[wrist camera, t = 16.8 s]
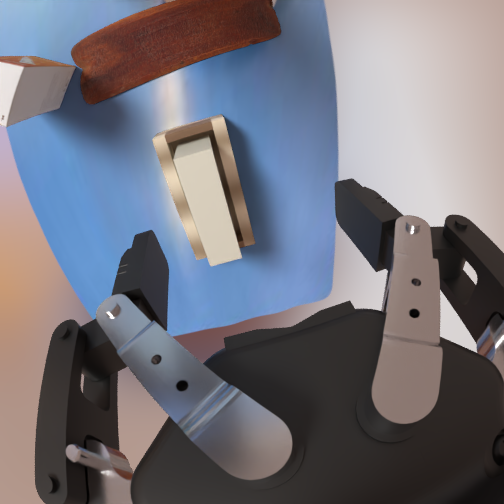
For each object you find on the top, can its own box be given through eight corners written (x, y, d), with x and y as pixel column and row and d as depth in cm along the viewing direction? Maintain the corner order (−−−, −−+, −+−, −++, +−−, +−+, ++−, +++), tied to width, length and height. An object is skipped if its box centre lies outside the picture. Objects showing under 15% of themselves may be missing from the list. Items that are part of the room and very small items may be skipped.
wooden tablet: (90, 109, 28) (85, 110, 27) (70, 48, 22) (65, 48, 21) (284, 44, 28) (288, 43, 27) (266, -17, 22) (269, -21, 21)
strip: (178, 143, 33) (173, 159, 26) (208, 134, 33) (211, 148, 26) (207, 233, 41) (210, 266, 34) (233, 225, 41) (241, 257, 35)
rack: (156, 133, 32) (152, 139, 29) (221, 114, 32) (224, 118, 29) (196, 244, 43) (197, 260, 40) (250, 229, 43) (255, 243, 40)
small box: (77, 65, 24) (25, 66, 13) (60, 109, 27) (6, 129, 16) (34, 55, 20) (-23, 56, 10) (19, 96, 23) (-38, 114, 13)
